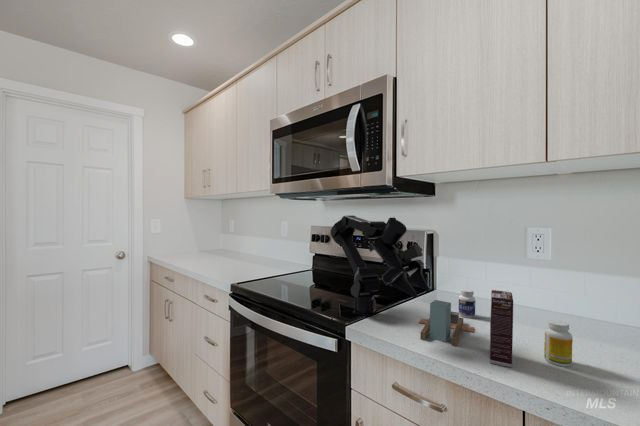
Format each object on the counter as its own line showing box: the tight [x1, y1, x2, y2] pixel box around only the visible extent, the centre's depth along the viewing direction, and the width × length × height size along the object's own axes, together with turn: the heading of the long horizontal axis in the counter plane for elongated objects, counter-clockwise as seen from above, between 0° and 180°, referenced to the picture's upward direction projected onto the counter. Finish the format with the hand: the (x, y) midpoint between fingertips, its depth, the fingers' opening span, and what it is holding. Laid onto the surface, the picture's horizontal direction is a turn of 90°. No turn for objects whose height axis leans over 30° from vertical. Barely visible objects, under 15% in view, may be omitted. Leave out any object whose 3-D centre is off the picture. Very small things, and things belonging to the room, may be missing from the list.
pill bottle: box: [457, 288, 476, 319], centre depth 109 cm, size 5×5×9 cm
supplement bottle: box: [543, 319, 573, 368], centre depth 76 cm, size 5×5×10 cm
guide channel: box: [418, 310, 475, 347], centre depth 96 cm, size 16×21×3 cm
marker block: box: [429, 299, 452, 343], centre depth 90 cm, size 4×4×10 cm
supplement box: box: [489, 289, 514, 368], centre depth 77 cm, size 9×5×16 cm, turn 151°
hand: (422, 293), depth 93 cm, fingers open, 9 cm apart
